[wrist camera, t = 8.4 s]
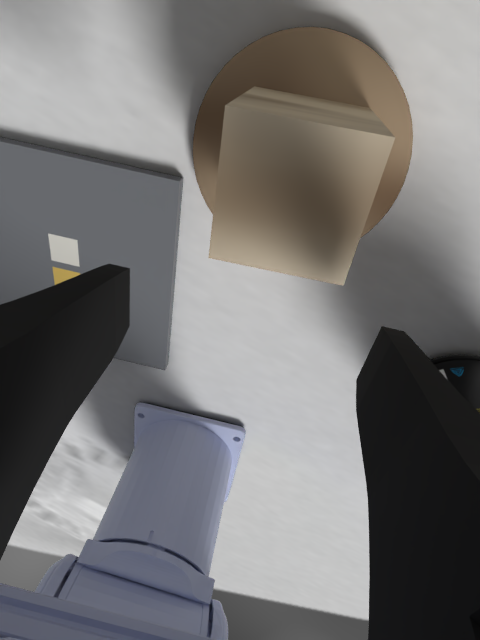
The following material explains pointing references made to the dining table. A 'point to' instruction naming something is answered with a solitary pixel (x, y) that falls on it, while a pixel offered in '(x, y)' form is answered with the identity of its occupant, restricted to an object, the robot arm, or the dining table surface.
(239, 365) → the dining table surface
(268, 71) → the cork coaster
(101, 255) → the tile
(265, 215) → the maple block
